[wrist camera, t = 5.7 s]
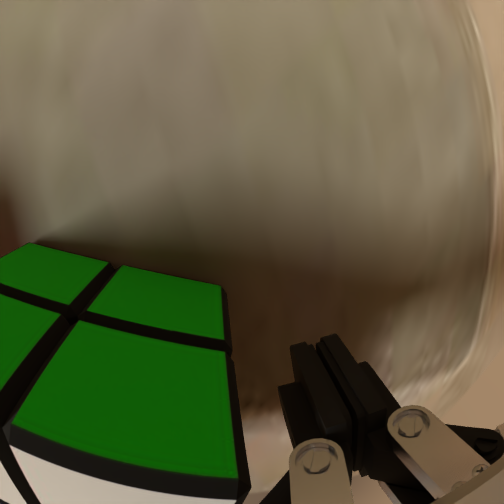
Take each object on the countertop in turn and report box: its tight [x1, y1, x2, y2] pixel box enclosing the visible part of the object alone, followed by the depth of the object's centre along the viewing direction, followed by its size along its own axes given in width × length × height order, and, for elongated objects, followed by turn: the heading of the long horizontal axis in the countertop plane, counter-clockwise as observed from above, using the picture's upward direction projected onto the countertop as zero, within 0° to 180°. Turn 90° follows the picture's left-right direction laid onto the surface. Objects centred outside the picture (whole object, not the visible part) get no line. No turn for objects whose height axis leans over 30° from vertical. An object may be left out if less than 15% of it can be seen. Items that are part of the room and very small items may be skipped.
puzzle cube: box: [0, 243, 251, 504], centre depth 9 cm, size 10×10×10 cm
